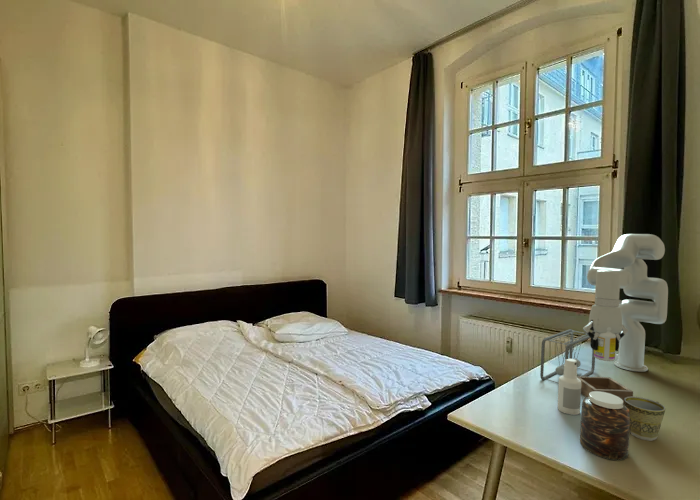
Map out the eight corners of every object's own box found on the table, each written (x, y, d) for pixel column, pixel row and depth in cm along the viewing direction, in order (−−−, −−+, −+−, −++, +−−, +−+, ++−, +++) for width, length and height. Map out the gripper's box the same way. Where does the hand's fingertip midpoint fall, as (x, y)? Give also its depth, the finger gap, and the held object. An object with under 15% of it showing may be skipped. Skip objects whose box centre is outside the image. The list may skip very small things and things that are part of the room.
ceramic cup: (651, 447, 110) (652, 413, 110) (615, 430, 119) (616, 399, 119) (676, 437, 115) (678, 405, 115) (640, 422, 124) (641, 392, 124)
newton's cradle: (566, 389, 151) (568, 345, 150) (539, 380, 159) (541, 338, 158) (594, 372, 169) (596, 333, 168) (569, 365, 177) (571, 328, 177)
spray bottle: (572, 417, 127) (574, 364, 126) (553, 408, 133) (555, 358, 133) (584, 412, 131) (586, 361, 130) (565, 404, 137) (567, 355, 136)
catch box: (574, 388, 151) (575, 376, 151) (609, 389, 150) (609, 377, 150) (594, 403, 138) (594, 390, 137) (632, 405, 137) (633, 391, 137)
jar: (635, 451, 108) (638, 399, 107) (618, 465, 101) (621, 410, 100) (589, 433, 117) (592, 385, 117) (572, 445, 111) (574, 394, 110)
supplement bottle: (612, 357, 145) (614, 324, 144) (616, 363, 139) (618, 328, 138) (592, 355, 148) (593, 322, 147) (595, 360, 142) (596, 326, 141)
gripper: (623, 301, 145) (621, 347, 146) (577, 300, 146) (575, 345, 147) (637, 305, 138) (635, 353, 139) (588, 304, 139) (586, 351, 140)
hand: (604, 349), depth 143 cm, fingers closed on supplement bottle, 6 cm apart
